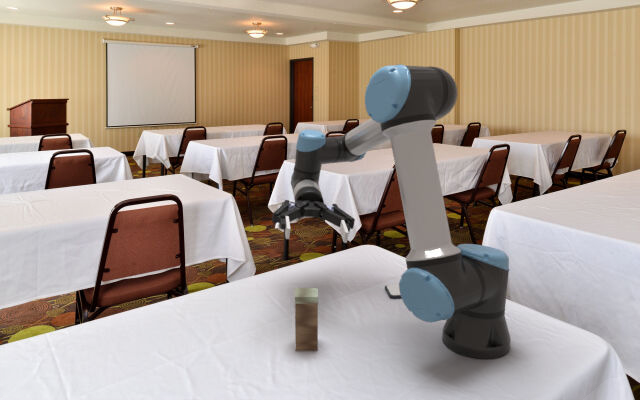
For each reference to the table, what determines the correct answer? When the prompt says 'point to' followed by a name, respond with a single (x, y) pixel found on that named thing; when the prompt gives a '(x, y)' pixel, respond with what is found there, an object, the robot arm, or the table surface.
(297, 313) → the walnut block
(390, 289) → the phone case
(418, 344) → the table surface
